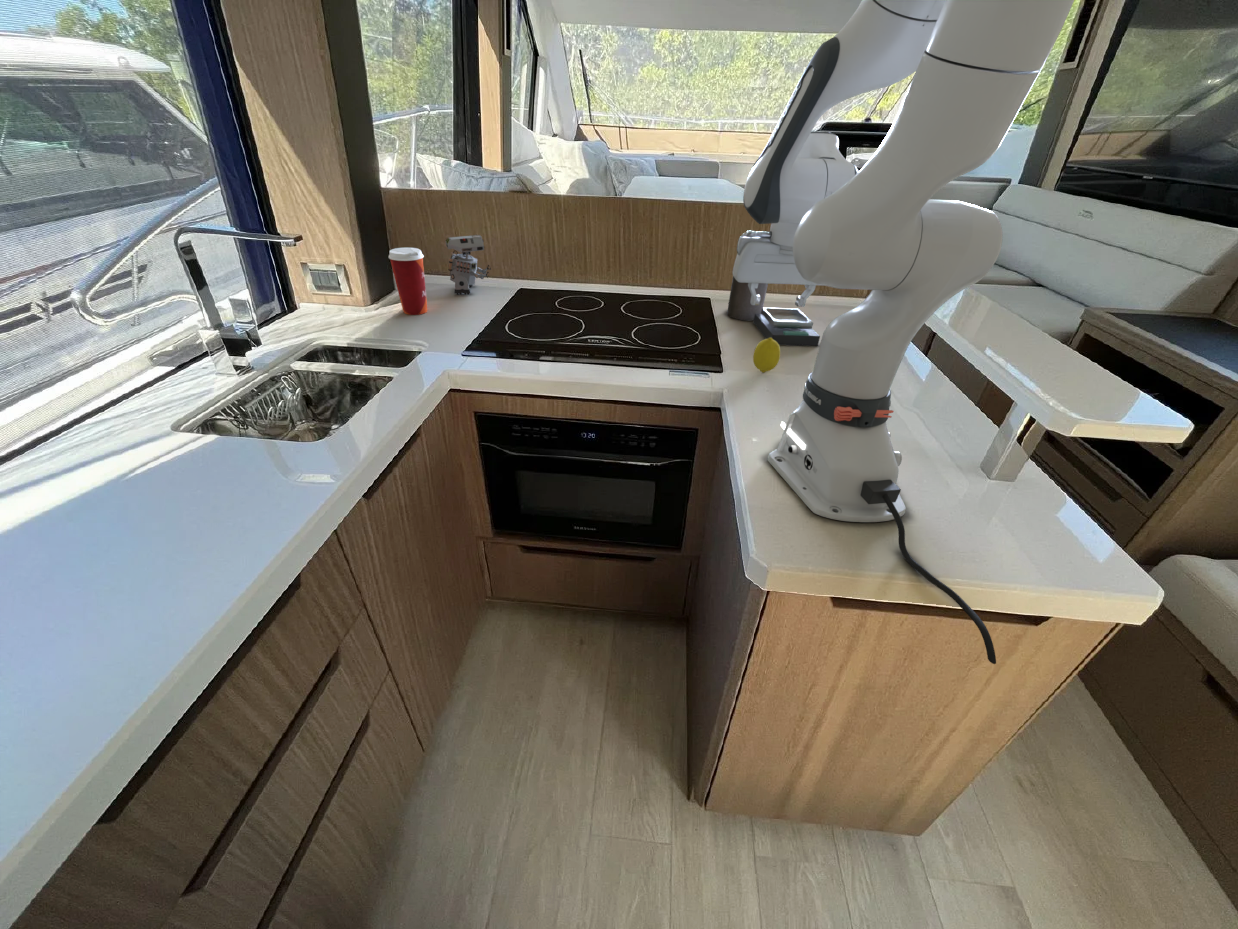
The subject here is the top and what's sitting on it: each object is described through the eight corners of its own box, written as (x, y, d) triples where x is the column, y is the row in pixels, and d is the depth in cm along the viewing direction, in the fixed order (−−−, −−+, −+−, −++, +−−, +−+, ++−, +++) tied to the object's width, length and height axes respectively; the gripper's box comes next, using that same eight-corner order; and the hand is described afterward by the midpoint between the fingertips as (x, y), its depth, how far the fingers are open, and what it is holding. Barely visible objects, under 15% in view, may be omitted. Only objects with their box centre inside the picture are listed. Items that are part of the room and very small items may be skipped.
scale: (817, 345, 130) (820, 334, 129) (770, 344, 129) (773, 332, 128) (795, 323, 144) (798, 313, 142) (753, 322, 143) (755, 311, 141)
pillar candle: (721, 315, 146) (730, 259, 138) (734, 307, 153) (744, 253, 145) (753, 323, 142) (765, 266, 134) (766, 314, 149) (778, 259, 140)
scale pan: (811, 328, 131) (813, 322, 131) (773, 327, 131) (774, 321, 130) (796, 314, 141) (798, 308, 140) (760, 313, 140) (761, 307, 139)
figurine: (490, 295, 151) (486, 239, 143) (449, 294, 149) (442, 238, 141) (492, 286, 158) (487, 233, 150) (453, 285, 157) (446, 231, 148)
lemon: (776, 379, 112) (784, 343, 108) (750, 376, 113) (757, 340, 109) (775, 369, 117) (783, 334, 112) (749, 366, 118) (757, 331, 113)
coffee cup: (438, 311, 137) (429, 251, 129) (409, 318, 132) (398, 256, 123) (420, 304, 141) (410, 245, 133) (392, 310, 136) (380, 249, 128)
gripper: (744, 233, 96) (730, 308, 103) (851, 238, 97) (830, 311, 105) (735, 226, 101) (723, 298, 109) (838, 231, 102) (819, 301, 110)
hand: (777, 305), depth 107 cm, fingers open, 8 cm apart
